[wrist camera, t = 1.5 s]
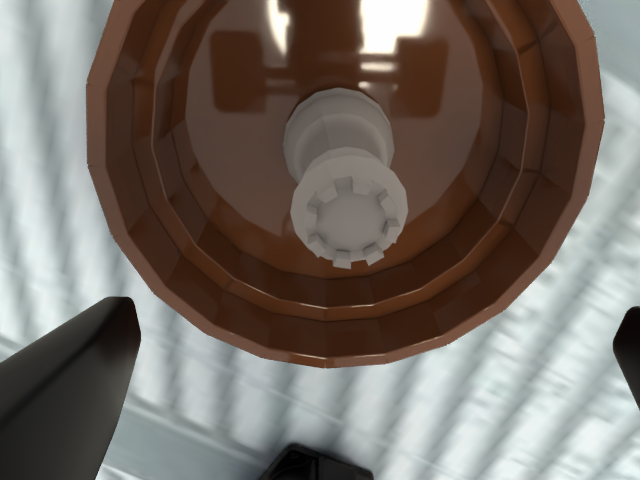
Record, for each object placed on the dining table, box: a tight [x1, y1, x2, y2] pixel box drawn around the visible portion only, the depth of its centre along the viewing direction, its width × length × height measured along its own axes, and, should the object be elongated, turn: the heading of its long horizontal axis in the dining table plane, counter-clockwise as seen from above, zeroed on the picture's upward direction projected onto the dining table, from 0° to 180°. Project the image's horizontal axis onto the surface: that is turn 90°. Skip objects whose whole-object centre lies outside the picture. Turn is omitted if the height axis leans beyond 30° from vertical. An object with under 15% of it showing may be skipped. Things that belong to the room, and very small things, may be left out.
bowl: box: [86, 0, 605, 368], centre depth 17 cm, size 16×16×5 cm
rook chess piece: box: [283, 88, 408, 269], centre depth 15 cm, size 4×4×8 cm
